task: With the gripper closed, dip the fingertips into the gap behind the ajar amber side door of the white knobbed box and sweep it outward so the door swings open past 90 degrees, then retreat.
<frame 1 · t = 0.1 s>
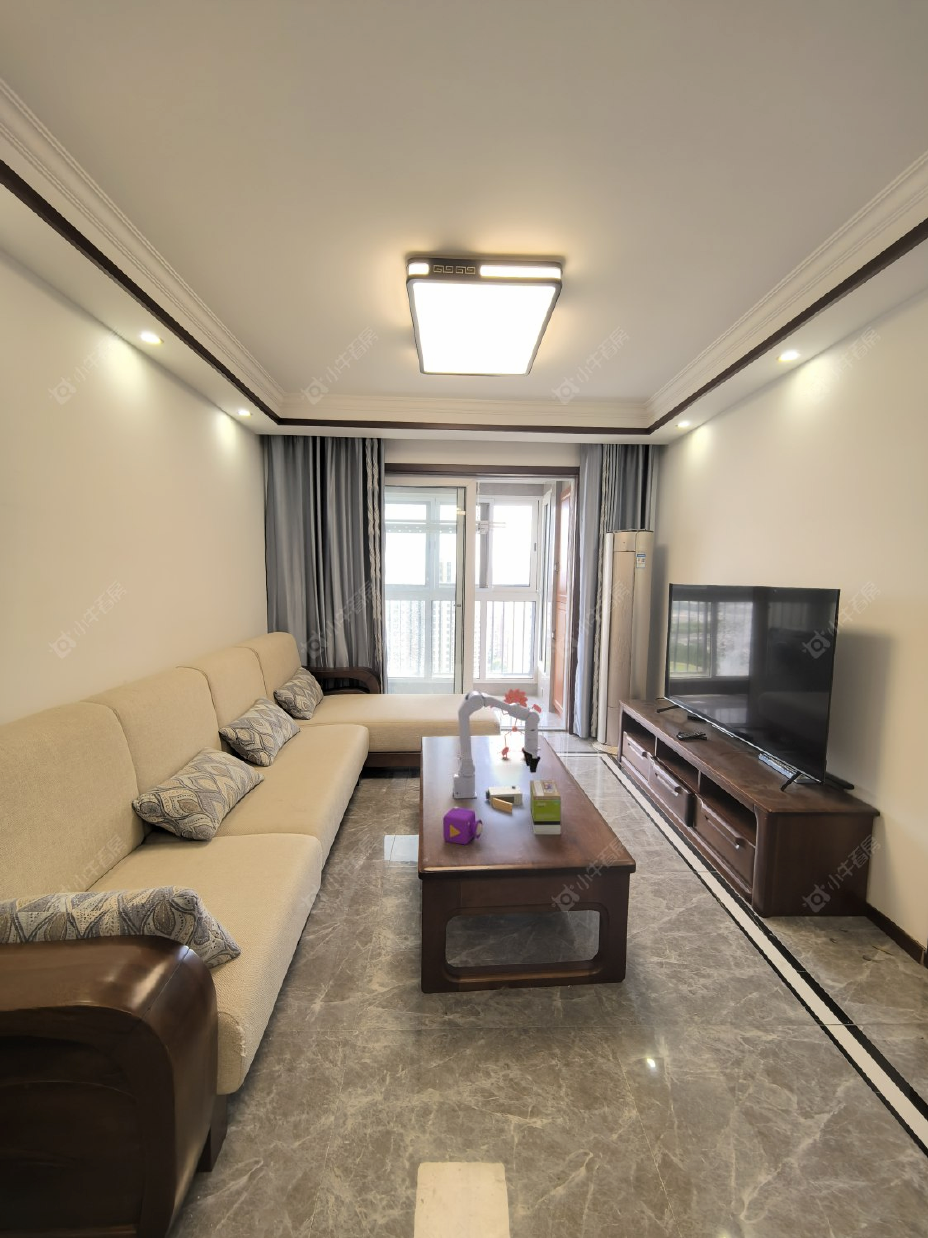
hand: (531, 769, 231), 10 cm above the table, fingers open, 7 cm apart
toy camera: (463, 839, 191), on the table
figurine: (515, 756, 278), on the table
white knobbed box: (504, 800, 223), on the table
side door: (501, 804, 215), point 2 cm above the table, hinge at 45.0°
tea box: (544, 826, 201), on the table
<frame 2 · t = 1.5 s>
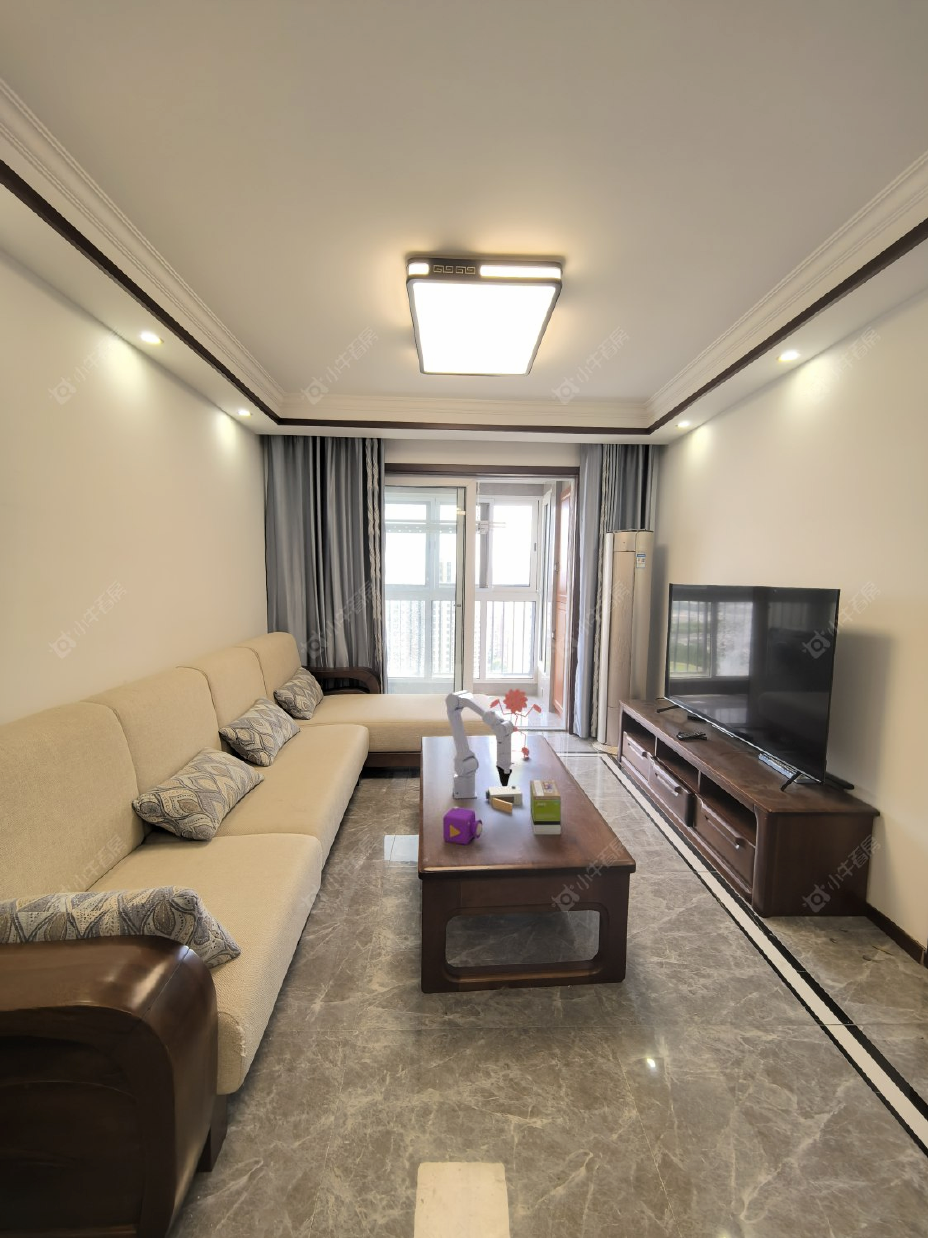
hand: (503, 784, 216), 9 cm above the table, fingers closed
nothing on the table moved.
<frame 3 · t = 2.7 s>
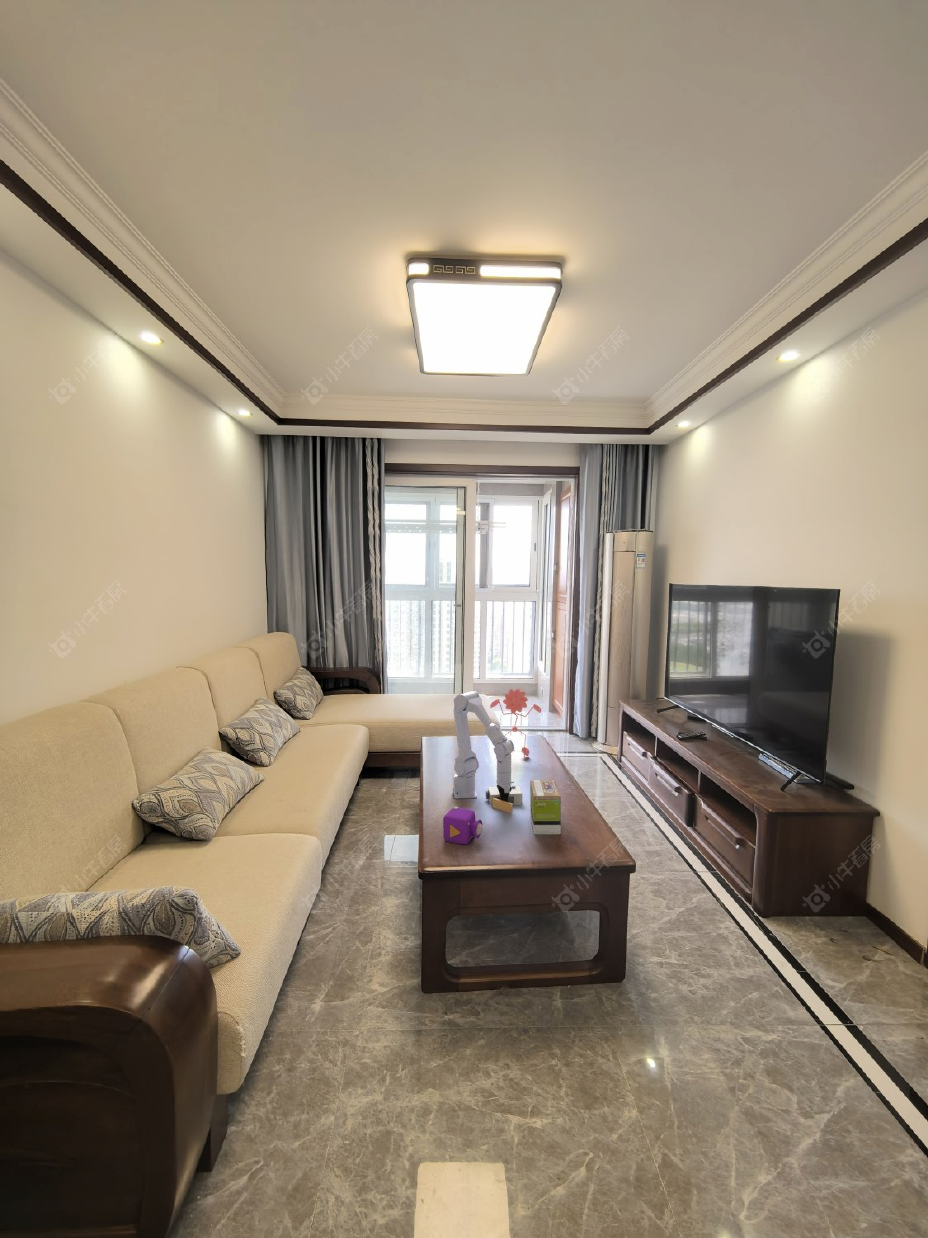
hand: (504, 803, 216), 2 cm above the table, fingers closed
side door: (501, 804, 215), point 2 cm above the table, hinge at 45.0°, touching gripper
everything else where it was.
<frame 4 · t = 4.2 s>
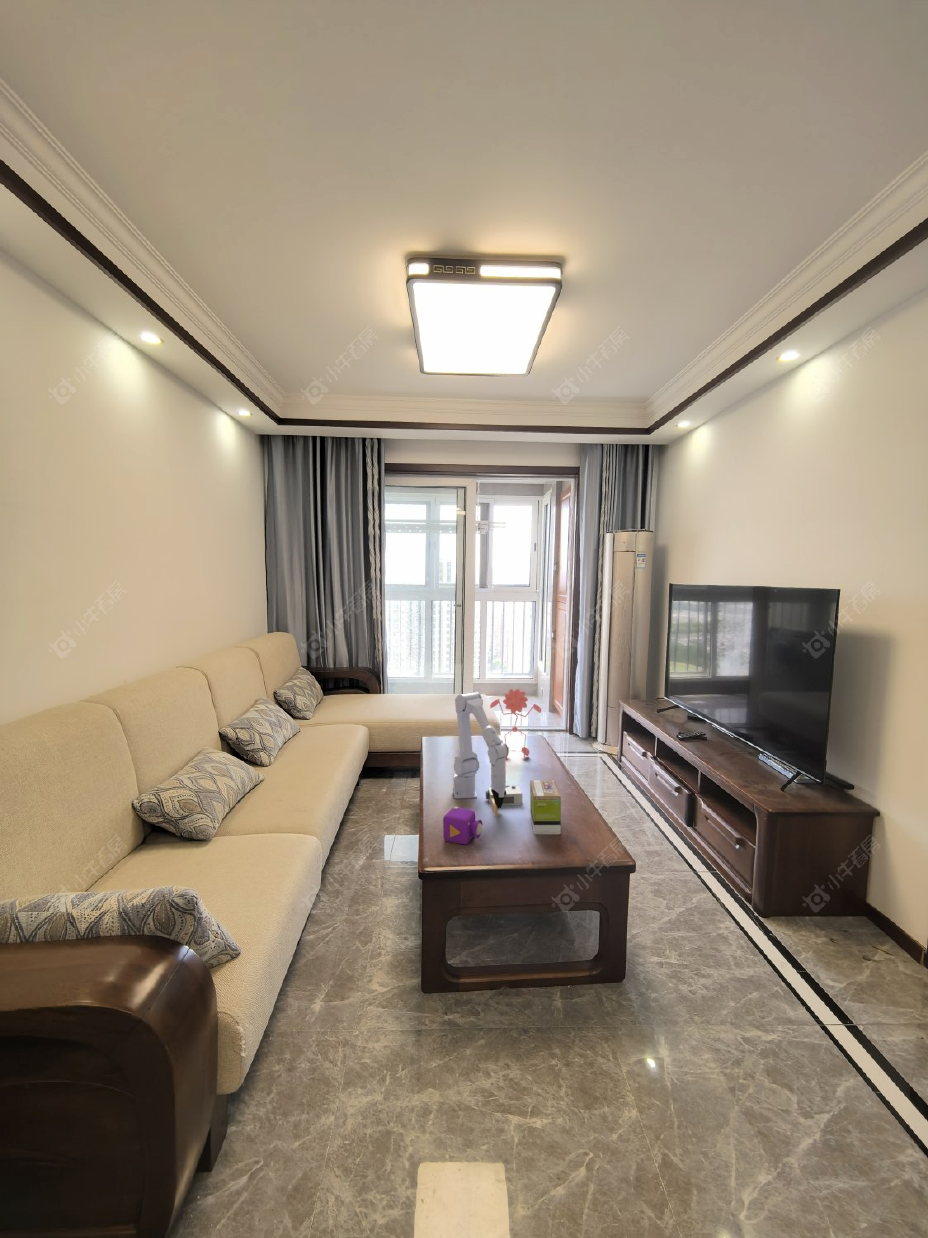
hand: (498, 808, 212), 2 cm above the table, fingers closed, pressing on side door
side door: (494, 806, 213), point 2 cm above the table, hinge at 88.7°, touching gripper
everything else where it was.
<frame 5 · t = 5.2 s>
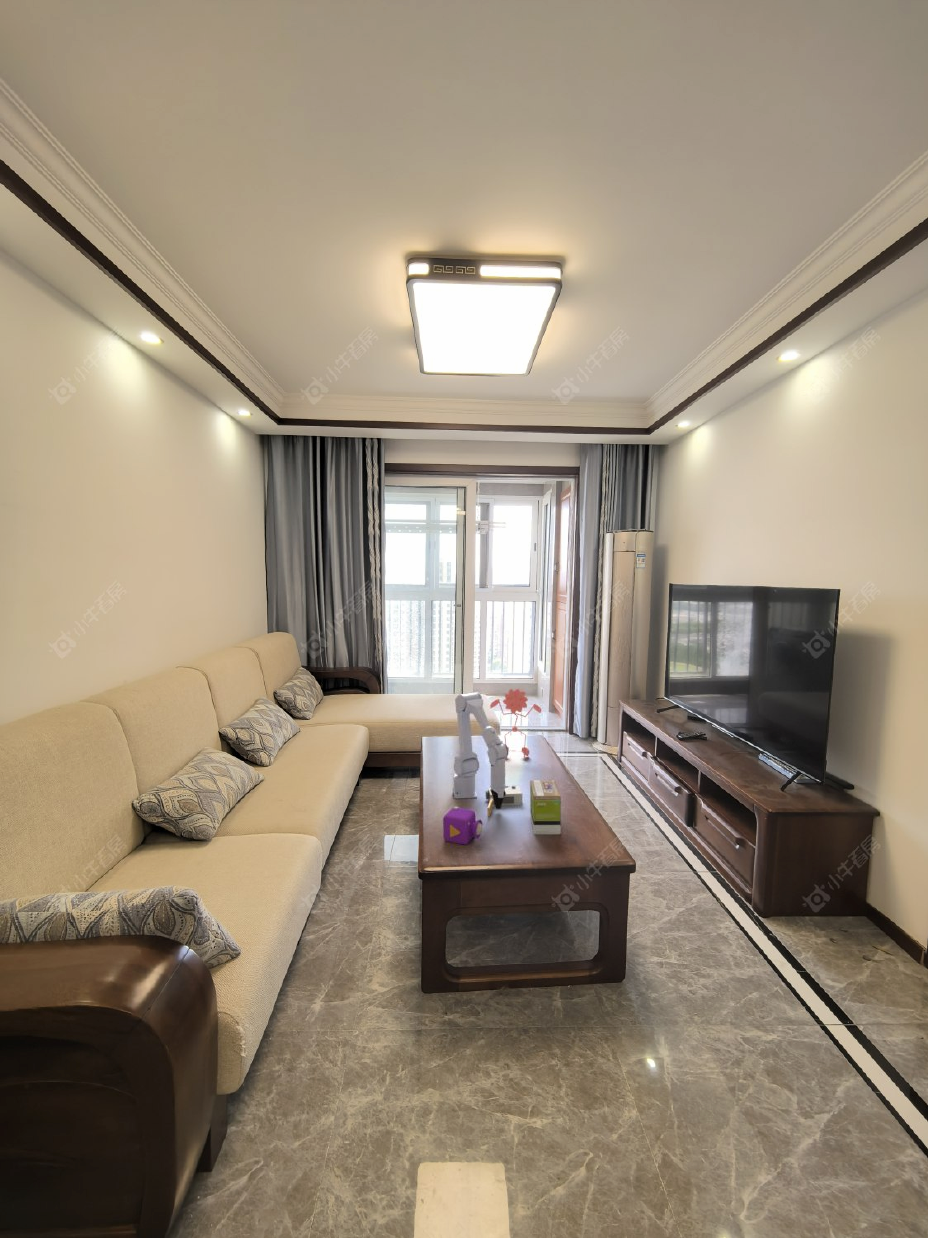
hand: (497, 808, 212), 2 cm above the table, fingers closed
side door: (490, 806, 213), point 2 cm above the table, hinge at 107.5°
everything else where it was.
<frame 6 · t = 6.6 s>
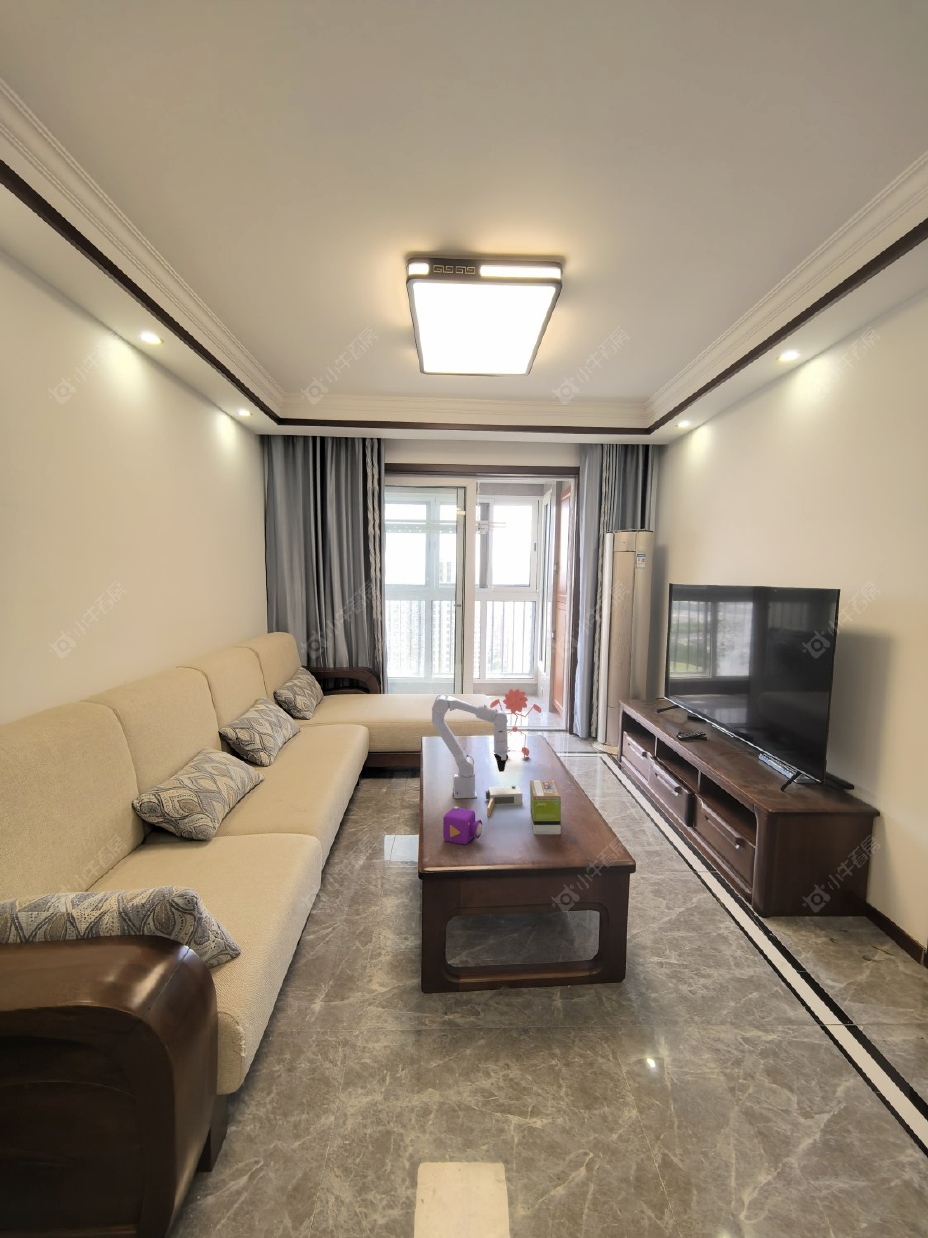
hand: (501, 771, 228), 10 cm above the table, fingers closed
nothing on the table moved.
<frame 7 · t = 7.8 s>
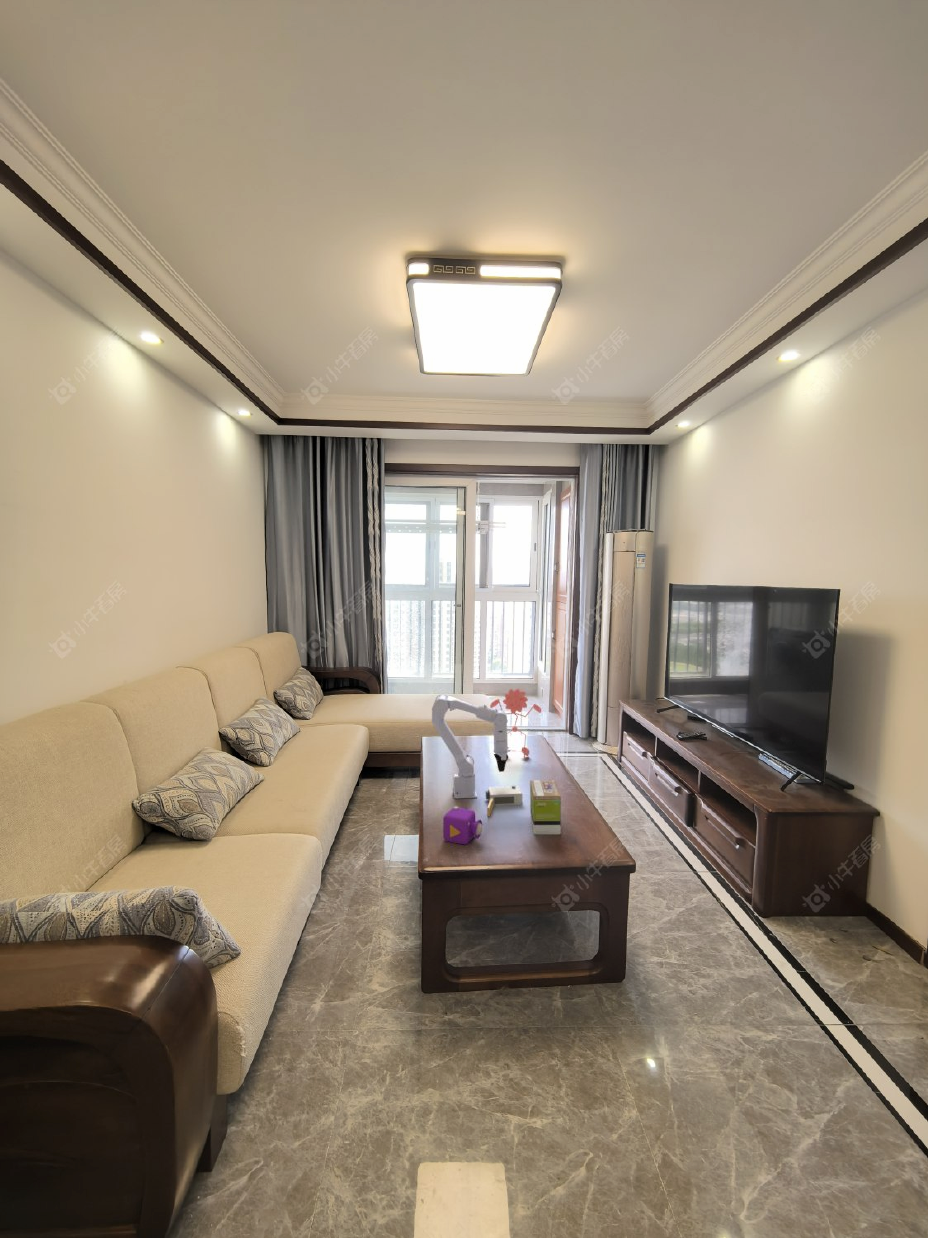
hand: (501, 771, 228), 10 cm above the table, fingers closed
nothing on the table moved.
at the end: side door at +108° (first picture: +45°); side door touching nothing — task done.
